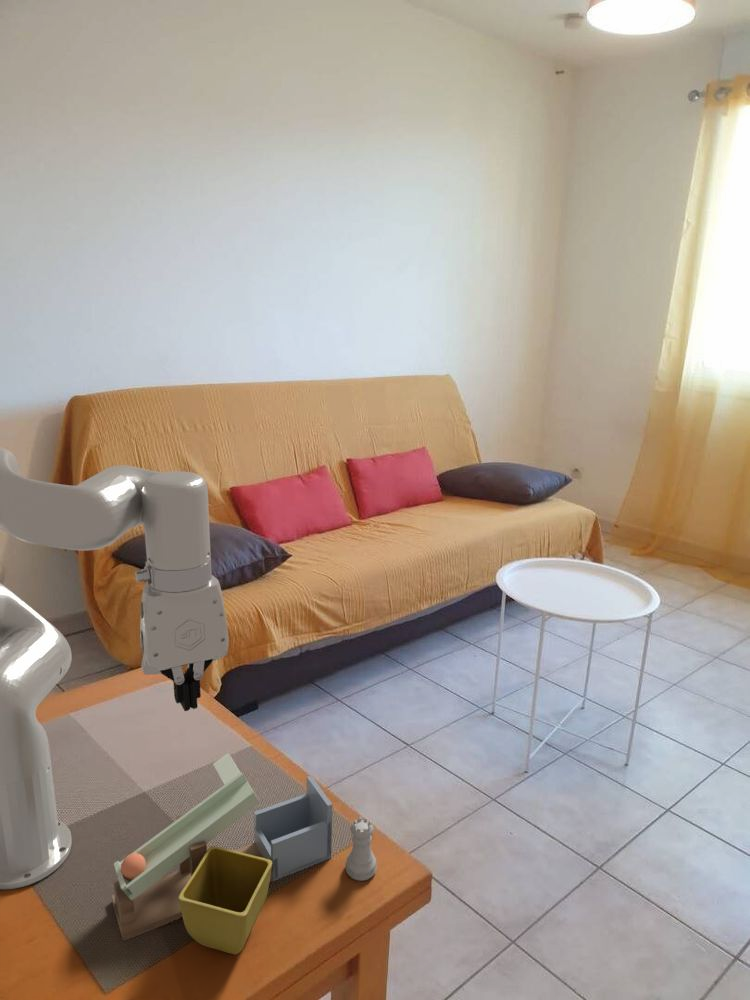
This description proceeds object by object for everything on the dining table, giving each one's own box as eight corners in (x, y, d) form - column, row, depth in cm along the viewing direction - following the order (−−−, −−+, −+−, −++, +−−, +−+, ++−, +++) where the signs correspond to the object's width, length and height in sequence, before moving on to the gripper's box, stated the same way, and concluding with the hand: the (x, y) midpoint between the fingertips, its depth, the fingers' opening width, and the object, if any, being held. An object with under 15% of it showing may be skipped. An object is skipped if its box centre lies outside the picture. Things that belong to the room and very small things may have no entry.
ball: (123, 872, 93) (115, 857, 91) (146, 859, 94) (138, 843, 92) (129, 889, 90) (120, 873, 89) (151, 875, 91) (143, 859, 90)
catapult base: (112, 901, 95) (106, 840, 92) (254, 848, 105) (253, 790, 102) (123, 941, 89) (117, 877, 87) (272, 880, 99) (272, 821, 96)
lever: (113, 841, 99) (103, 829, 98) (231, 755, 105) (224, 743, 104) (131, 900, 90) (121, 889, 89) (260, 802, 96) (252, 790, 95)
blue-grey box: (254, 847, 105) (253, 794, 102) (310, 826, 109) (311, 775, 107) (273, 881, 99) (272, 825, 96) (331, 857, 104) (332, 804, 101)
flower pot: (244, 975, 86) (244, 916, 83) (178, 955, 88) (176, 897, 85) (272, 915, 94) (273, 860, 91) (211, 898, 96) (210, 844, 93)
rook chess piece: (358, 853, 105) (359, 807, 102) (383, 868, 102) (385, 821, 100) (338, 872, 101) (339, 825, 99) (364, 888, 99) (365, 840, 96)
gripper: (122, 596, 81) (135, 736, 86) (249, 573, 88) (253, 703, 93) (110, 573, 87) (122, 705, 92) (229, 553, 94) (233, 677, 100)
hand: (188, 704), depth 93 cm, fingers closed
